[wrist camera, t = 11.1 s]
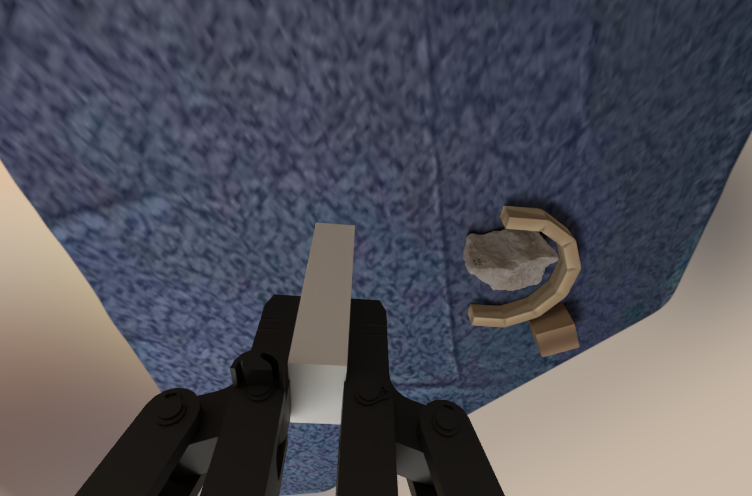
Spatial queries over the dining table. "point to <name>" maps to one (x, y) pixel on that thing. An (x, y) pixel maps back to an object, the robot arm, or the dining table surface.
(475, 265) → the stone
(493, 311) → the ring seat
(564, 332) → the walnut block
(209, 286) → the dining table surface
